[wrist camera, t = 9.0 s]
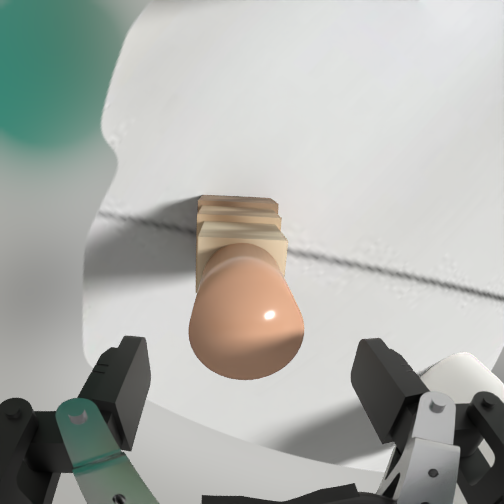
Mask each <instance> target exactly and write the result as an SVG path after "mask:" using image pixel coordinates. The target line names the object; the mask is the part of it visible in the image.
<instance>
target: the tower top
mask: <svg viewBox="0 0 504 504" xmlns="http://www.w3.org/2000/svg"><path fill="white" fill-rule="evenodd" d="M236 243H249V244H253V245H256V246H259V247H261V248H263V249H265V250H266V251H267V252H269V253H270V254H271V255H272V256H273V258H274V259H275V260H276V262H277V263H278V266H279V268H280V270H281V272H282V274H283V276H285V266H286V256H287V246H288V240H287V239H286V238H285V236H284V235H283V234H282V233H281V231H280V230H279V229H278V228H277V226H276V225H275V224H264V223H244V222H222V221H204V223H203V226H202V228H201V231H200V233H199V236H198V273H197V292H198V288H199V284H200V280H201V277H202V273H203V270H204V267H205V265H206V263H207V261H208V260H209V259H210V257H211V256H212V255H213V254H214V253H215V252H217V251H218V250H220V249H221V248H223V247H225V246H228V245H231V244H236Z"/></svg>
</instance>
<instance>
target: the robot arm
mask: <svg viewBox="0 0 504 504" xmlns="http://www.w3.org/2000/svg"><path fill="white" fill-rule="evenodd" d="M150 381H151V371H150V364H149V358H148V350H147V343H146V339H145V338H144V337H136V336H124V337H123V339H122V341H121V343H120V345H119V347H118V348H114V347H111V348H109V349H108V350H107V351H105V352H104V353H103V354H102V355H101V356H100V358H99V360H98V361H97V363H96V365H95V367H94V368H93V370H92V372H91V374H90V376H89V377H88V379H87V381H86V383H85V385H84V386H83V388H82V390H81V392H80V394H79V396H78V397H77V398H73V399H70V400H67V401H65V402H63V403H62V404H61V405H60V406H59V407H58V409H57V410H56V411H33V409H32V407H31V405H30V403H29V402H28V401H26V400H24V399H22V398H11V399H7V400H6V401H4V402H2V403H1V404H0V504H52V501H53V497H54V494H55V491H56V487H57V484H58V481H59V477H60V474H61V473H73V474H74V476H75V478H76V481H77V483H78V485H79V487H80V490H81V492H82V494H83V496H84V498H85V500H86V502H87V504H159V502H158V501H157V500H156V498H155V497H154V496H153V494H152V493H151V492H150V490H149V489H148V487H147V486H146V485H145V483H144V482H143V480H142V479H141V477H140V476H139V474H138V473H137V471H136V470H135V468H134V467H133V465H132V464H131V462H130V460H129V459H128V457H127V456H126V454H125V453H124V452H122V451H121V450H126V451H131V450H132V446H133V443H134V439H135V435H136V432H137V428H138V425H139V421H140V418H141V414H142V410H143V407H144V404H145V400H146V397H147V394H148V390H149V387H150ZM351 383H352V386H353V388H354V390H355V392H356V394H357V396H358V397H359V399H360V401H361V403H362V405H363V407H364V409H365V411H366V413H367V415H368V417H369V419H370V421H371V423H372V425H373V427H374V429H375V430H376V432H377V434H378V436H379V438H380V440H381V442H382V444H385V443H389V442H393V441H394V442H395V444H396V446H395V447H394V449H393V451H392V454H391V457H390V460H389V463H388V466H387V469H386V471H385V474H384V477H383V479H382V482H381V484H380V486H379V489H378V490H377V492H376V494H373V493H367V492H358V491H357V489H356V486H355V483H353V484H348V485H343V486H338V487H333V488H326V489H320V490H317V491H315V492H312V493H309V494H306V495H303V496H301V497H298V498H295V499H291V500H288V501H284V502H277V501H270V500H262V499H256V498H250V497H244V496H208V495H202V504H453V500H454V495H455V489H456V483H457V484H458V486H459V488H460V490H461V492H462V494H463V496H464V498H465V500H466V502H467V504H504V403H503V402H502V401H501V399H500V398H499V397H498V396H496V395H495V394H493V393H490V392H487V391H481V392H478V393H476V394H475V395H474V397H473V399H472V400H471V402H470V403H460V404H455V403H454V401H453V400H452V399H451V398H450V397H449V396H448V395H446V394H444V393H441V392H437V391H430V390H429V389H428V388H427V387H426V385H425V384H424V383H423V382H422V380H421V379H420V378H419V377H418V375H417V374H416V373H415V372H414V371H413V369H412V368H411V367H410V365H408V363H407V362H406V360H405V359H404V358H403V357H402V356H401V355H400V354H398V353H397V352H395V351H394V350H392V349H389V348H388V347H387V346H386V344H385V343H384V342H383V341H382V339H380V338H372V339H362V340H361V341H360V342H359V345H358V348H357V352H356V356H355V360H354V363H353V367H352V371H351ZM483 439H485V441H486V442H487V444H488V445H489V447H490V448H491V450H492V451H493V453H494V456H495V461H494V464H493V466H492V467H490V465H489V463H488V462H487V460H486V459H485V457H484V456H483V454H482V453H481V451H480V449H479V448H478V446H479V445H480V444H481V442H482V441H483Z"/></svg>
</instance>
